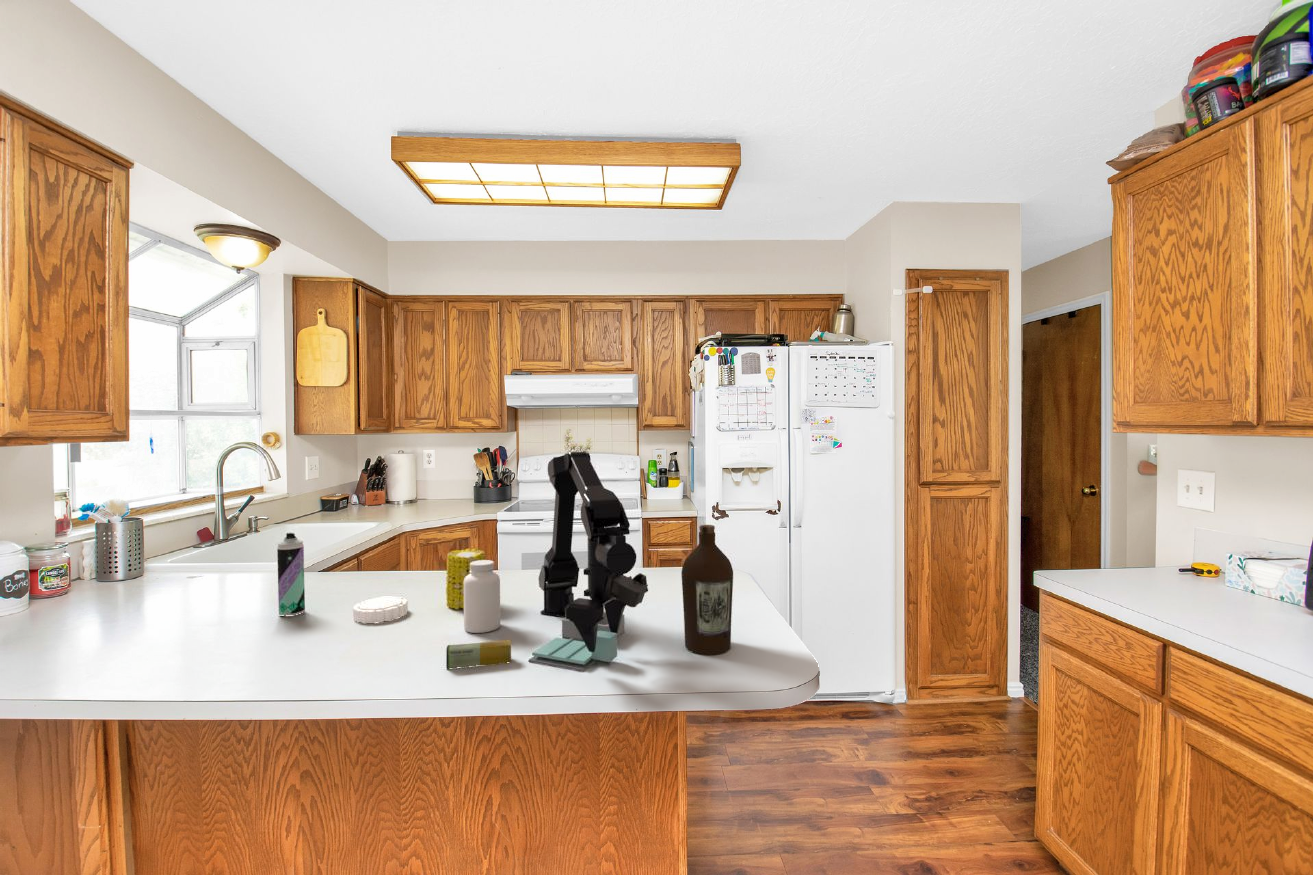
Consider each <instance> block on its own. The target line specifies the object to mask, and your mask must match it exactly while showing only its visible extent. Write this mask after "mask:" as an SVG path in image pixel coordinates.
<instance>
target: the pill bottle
mask: <svg viewBox="0 0 1313 875" xmlns="http://www.w3.org/2000/svg"><path fill="white" fill-rule="evenodd" d="M494 569H495V562H494V561H493V560H491V559H485V560H478V561H473V562H471V563H470V573H471V574H469V575H467V576H466V577H465V579H464V609H463V627H464V630H465V631H466V632H467V633H472V634H484V633H490V632H493V631H495V630H497V629H499V628H500V627H501V579H500V578H501V577H500V575H499V574H497V573H496V572H494V571H495V570H494Z"/></svg>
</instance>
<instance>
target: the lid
mask: <svg viewBox="0 0 1313 875" xmlns="http://www.w3.org/2000/svg"><path fill="white" fill-rule="evenodd" d="M531 655H532V657H534V656H538V657H544V658H549V659H555V660H561V661H567V662H572V663H578V664H586V663H587V662H588V661H590V660H591V659H595V660H596V661H601V662H608V663H611V662H612V661H614V659H616V658H617V657H618V638H617V633H612V632H606V631H597V639H596V647H595V651H594V652H589V651H588V649H587V647H586V645H585V643H584V642H582V641H576V640H573V639H572V638H571V639H563V638H562V637H555V638H553V639H552V640H550V641H548V642H547V643H544V645H541V646H540V647H539V648H537V649H535V650H534V651H533V652H532V653H531Z"/></svg>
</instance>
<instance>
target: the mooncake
mask: <svg viewBox="0 0 1313 875" xmlns="http://www.w3.org/2000/svg"><path fill="white" fill-rule="evenodd" d="M408 604H409V601H408V600H407V599H406V598H404V597H401V596H389V595H388V596H387V595H386V596H378V597H375V598H371V599H370V598H369V599H366V600H363V601H360V602H358V603H357V604H355V605H354V606H353V607H352V613H353V614H352V615H353V616H352V617H353V618H354V619H353V622H355V621H357V622H362V623H374V624H376V623H375V622H383V621H390V620H392V619H397V618H398V617H402V616H403V617H405V616H406V614H408V613H409V605H408ZM407 612H408V613H407ZM404 615H405V616H404ZM403 617H402V618H403ZM398 619H399V618H398ZM398 619H397V620H398ZM392 621H393V620H392ZM357 622H356V623H357ZM390 622H391V621H390ZM362 623H361V624H362ZM383 623H384V622H383Z"/></svg>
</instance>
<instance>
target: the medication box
mask: <svg viewBox="0 0 1313 875" xmlns="http://www.w3.org/2000/svg"><path fill="white" fill-rule="evenodd" d="M445 650H446V651H445V652H446V654H445V656H446V657H445V660H446V662H445V663H446V664H445V667H446V668H447V669H446V670H450V669H449V668H457V667H467V668H470V667H469V666H476V665H486V666H493V665H492V664H496V665H500V664H499V663H505V664H508V663H507V662H511V663H512V640H510V639H507V640H505V639H504V640H495V641H485V642H475V643H474V642H473V643H461V644H460V643H459V644H448V645H447V646H446V649H445ZM457 669H458V668H457Z"/></svg>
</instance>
